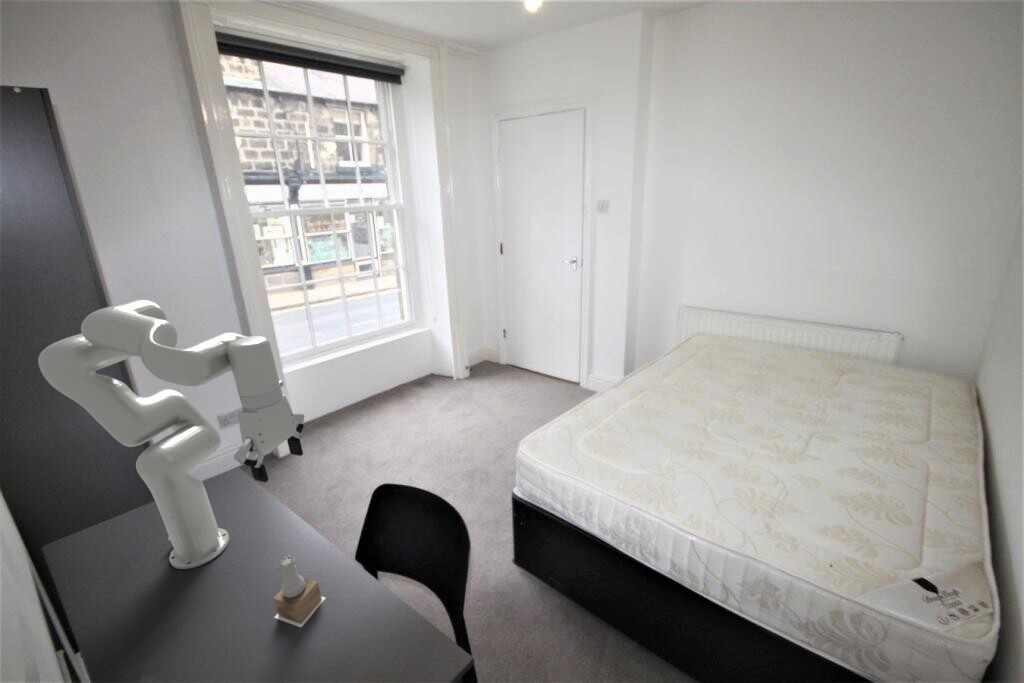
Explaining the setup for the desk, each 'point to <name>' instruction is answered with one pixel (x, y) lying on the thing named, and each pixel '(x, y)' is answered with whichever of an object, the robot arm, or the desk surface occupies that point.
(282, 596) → the walnut block
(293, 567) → the rook chess piece
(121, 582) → the desk surface
